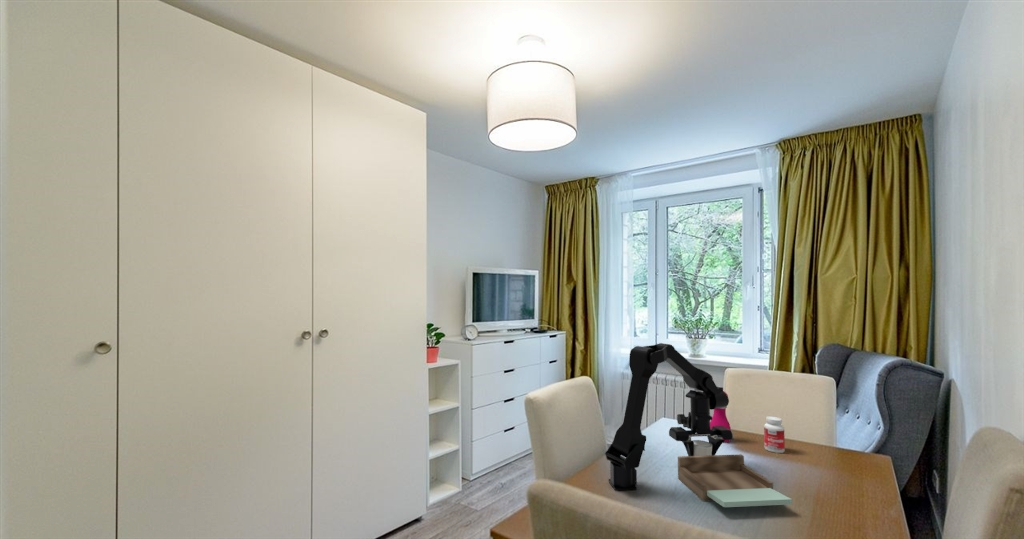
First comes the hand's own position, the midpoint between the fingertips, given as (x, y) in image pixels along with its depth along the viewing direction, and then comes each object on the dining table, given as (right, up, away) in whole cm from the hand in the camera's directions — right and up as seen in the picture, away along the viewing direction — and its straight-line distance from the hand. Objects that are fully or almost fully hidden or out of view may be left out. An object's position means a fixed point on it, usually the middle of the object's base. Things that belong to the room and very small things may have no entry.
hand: (701, 460), depth 142 cm
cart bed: (0, -1, -16) cm, 16 cm away
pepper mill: (+18, -3, +25) cm, 31 cm away
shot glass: (0, -2, 0) cm, 2 cm away
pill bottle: (+32, -3, +14) cm, 35 cm away
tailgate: (0, +2, -23) cm, 23 cm away
